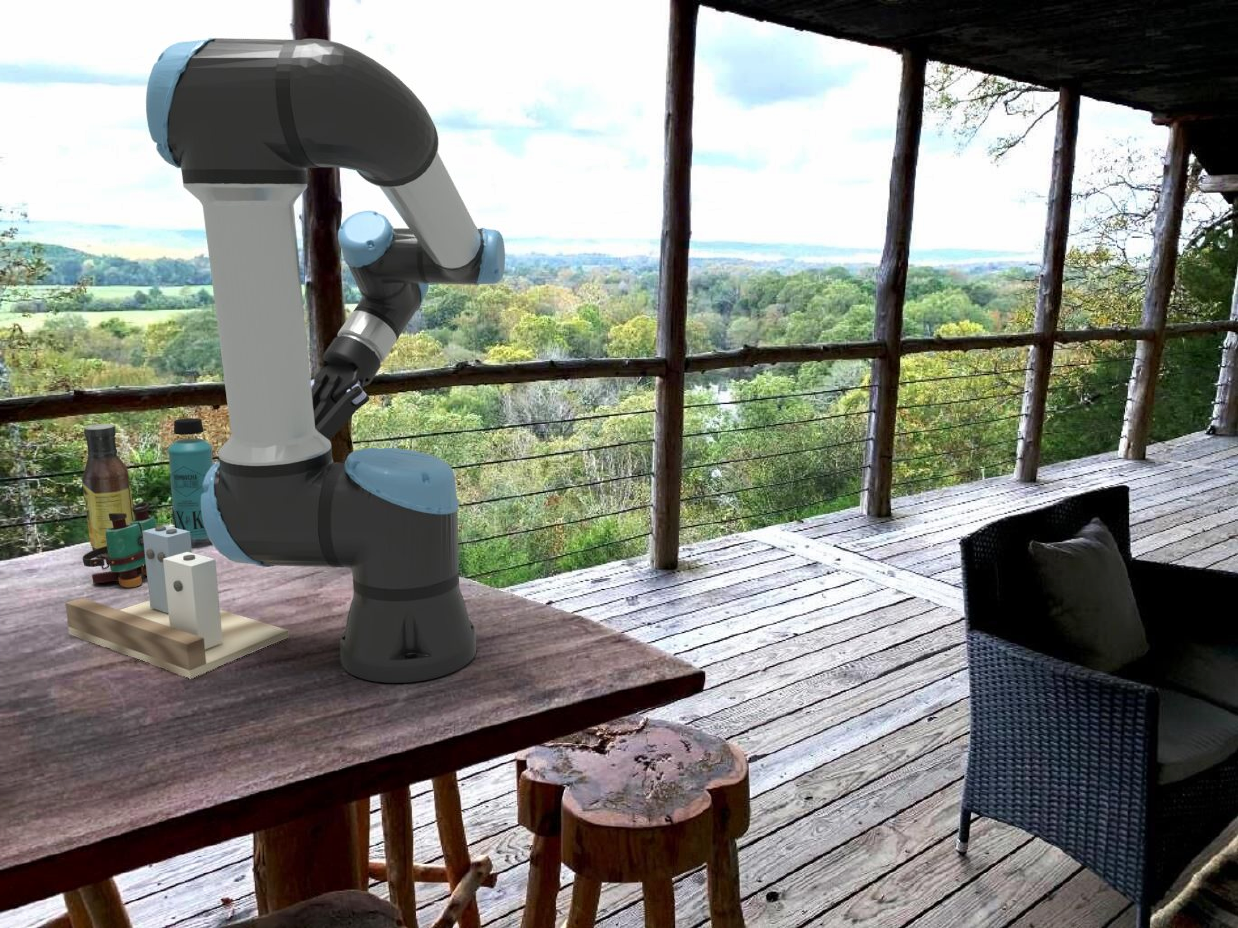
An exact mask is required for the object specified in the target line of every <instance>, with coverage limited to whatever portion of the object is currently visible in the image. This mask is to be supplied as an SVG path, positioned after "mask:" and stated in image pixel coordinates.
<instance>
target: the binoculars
mask: <svg viewBox="0 0 1238 928" xmlns="http://www.w3.org/2000/svg"><path fill="white" fill-rule="evenodd" d="M132 510H133V512H134V516H135V520H133V521H131V522H130V525H129V524H127V525H126V520H125V518H127V515H126V513H110V514H109V519H110V521H112V524H113V528H111V529H108V530H106V542H107V546H104V547H101V548H98V549H96V550H93V549H92V550H91V551H89V552H87V553H85V554H84V555H83V556H82V562H83V566H85V567H86V568H87V567H88V568H90V567H91V568H96V567H101V569H102V570H106V569H110V571H104V572H98V573H93V574H92V575H91V577H92V584H100V583H108V582H113V581H114V582H118V583H119V585H120V586H121V587H125V588H136V587H138V586H141V585H142V584H143V580H142V576H141V574H143V576H147V570H146V561H145V551H144V542H143V532H142V531H145V530H149V529H153V528H156V527H157V524H156V519H155V517H154V516H150V515H149V510H150V505H149V502H148V501H143V502H138V503H137V504H135V505H133V507H132ZM105 553H108V557H107V556H106V555H102V554H105ZM99 555H100V556H99ZM97 556H99V557H97ZM101 556H103V557H101ZM96 557H97V558H96ZM104 558H105V560H104ZM105 563H106V564H105ZM105 565H106V567H105ZM138 572H141V574H139V573H138Z"/></svg>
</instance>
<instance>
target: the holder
mask: <svg viewBox="0 0 1238 928" xmlns="http://www.w3.org/2000/svg"><path fill="white" fill-rule="evenodd" d="M65 610H66V612H65V613H66V618H67V626H68V628H67V629H68V634H69V635H70V636H73V637H76V638H79V639H81V640H84V641H86V642H89V643H92V644H94V643H95V645H97V646H99V645H100V646H99V647H102V648H105V647H108V648H110V649H113V650H115V651H114V652H116V651H117V652H116V653H118V652H120V653H119V654H121V653H122V655H124V654H125V655H124V656H126V655H128V656H127V657H129V656H132V657H135V658H137V659H140V660H143V661H145V662H149V663H151V664H153V665H156V666H160V667H162V668H165V669H166V670H165V671H167V670H169V671H171V672H170V673H172V672H174V673H173V674H175V673H177V674H178V676H180V675H182V676H181V677H183V676H185V677H184V678H186V677H188V678H189V680H192V679H194V677H195V678H196V676H197V677H199V676H202V675H204V674H206V672H207V671H209V670H211V671H213V670H212V669H214V668H216V667H217V666H221V665H223V664H225V663H226V662H229V661H231V660H234V659H236V658H238V657H240V656H244V655H246V654H248V653H251V652H252V651H255V650H257V649H259V648H261V647H266V648H268V647H267V646H269V645H271V644H274V643H276V642H278V641H281V640H283V639H286V638H288V639H289V638H290V635H289V634H290V633H289V629H286V628H284V627H283V628H282V627H278V626H275V625H273V624H270V623H269V624H268V623H266V622H262V621H259V620H257V619H252V618H249V617H245V616H243V615H239V614H236V613H233V612H229V611H226V610H224V609H220V617H221V628H222V640H223V643H220V644H218V645H215V646H213V647H210V648H208V649H205V646H204V638H202V637H199V636H196V635H193V634H190V633H187V632H184V631H181V630H178V629H175V628H172V627H170V622H169V613H166V612H162V611H159V610H156V609H153V608H150V599H149V600H146V601H141V602H140V603H137V604H134V605H131V606H127V607H125V608H121V609H117V608H115V607H111V606H108V605H106V604H104V603H99V602H96V601H93V600H90V599H87V598H84V597H80V598H77V599H73V600H70V601H66V602H65ZM286 640H287V639H286ZM283 641H284V640H283ZM281 642H282V641H281ZM278 643H279V642H278ZM276 644H277V643H276ZM274 645H275V644H274ZM271 646H272V645H271ZM269 647H270V646H269ZM110 649H109V650H110ZM113 650H112V651H113ZM132 657H131V658H132ZM137 659H136V660H137ZM140 660H139V661H140ZM145 662H144V663H145ZM151 664H150V665H151ZM153 665H152V666H153ZM156 666H155V667H156ZM223 666H224V665H223ZM221 667H222V666H221ZM216 669H217V668H216ZM214 670H215V669H214ZM169 671H168V672H169ZM209 672H210V671H209ZM207 673H208V672H207ZM177 674H176V675H177ZM198 675H199V676H198ZM188 678H187V679H188ZM191 678H192V679H191Z"/></svg>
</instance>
